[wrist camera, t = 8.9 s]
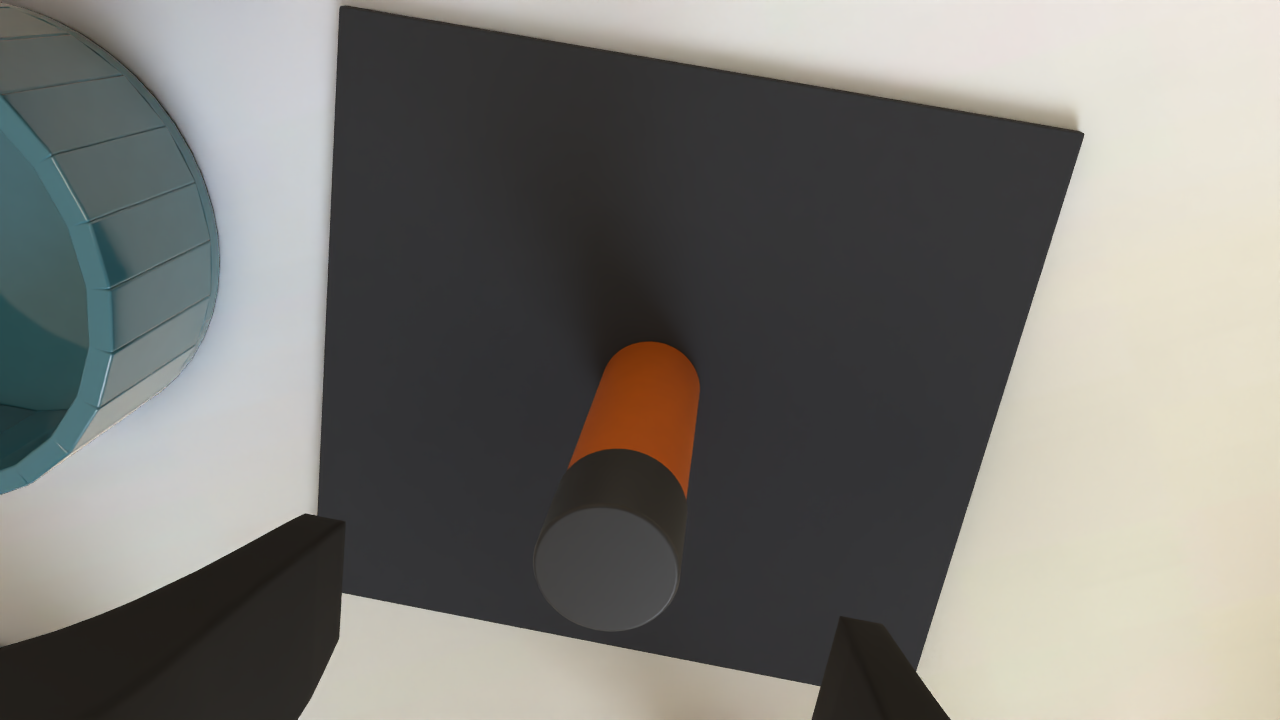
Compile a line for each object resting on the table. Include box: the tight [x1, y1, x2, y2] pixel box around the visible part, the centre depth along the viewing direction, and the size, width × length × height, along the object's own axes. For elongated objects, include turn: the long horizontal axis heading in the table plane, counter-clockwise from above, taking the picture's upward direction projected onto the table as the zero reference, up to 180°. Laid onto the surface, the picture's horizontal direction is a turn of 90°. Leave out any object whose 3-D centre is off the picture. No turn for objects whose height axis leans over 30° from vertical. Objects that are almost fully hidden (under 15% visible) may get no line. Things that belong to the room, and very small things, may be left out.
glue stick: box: [533, 341, 700, 631], centre depth 19 cm, size 2×2×8 cm
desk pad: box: [318, 6, 1084, 686], centre depth 23 cm, size 14×15×1 cm
